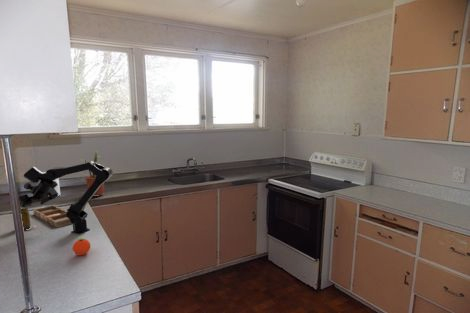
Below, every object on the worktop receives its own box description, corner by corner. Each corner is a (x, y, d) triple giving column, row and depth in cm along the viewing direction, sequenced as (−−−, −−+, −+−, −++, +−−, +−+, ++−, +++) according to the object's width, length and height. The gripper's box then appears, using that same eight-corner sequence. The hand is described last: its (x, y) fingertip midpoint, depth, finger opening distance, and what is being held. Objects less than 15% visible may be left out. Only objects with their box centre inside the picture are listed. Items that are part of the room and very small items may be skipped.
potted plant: (104, 192, 236) (100, 149, 231) (107, 196, 223) (104, 151, 218) (80, 196, 227) (75, 151, 222) (82, 200, 214) (77, 153, 209)
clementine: (70, 254, 130) (68, 238, 129) (86, 248, 135) (85, 234, 134) (77, 259, 125) (75, 244, 124) (93, 253, 130) (92, 238, 129)
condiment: (21, 226, 165) (19, 206, 163) (37, 225, 166) (35, 205, 164) (13, 231, 158) (10, 210, 156) (30, 230, 158) (27, 209, 157)
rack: (78, 221, 171) (78, 216, 170) (55, 227, 162) (55, 222, 161) (54, 209, 194) (54, 205, 194) (33, 214, 185) (33, 209, 185)
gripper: (51, 172, 161) (41, 191, 167) (16, 180, 144) (5, 200, 150) (63, 187, 159) (52, 205, 165) (28, 197, 142) (17, 216, 148)
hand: (32, 206), depth 157 cm, fingers open, 9 cm apart
